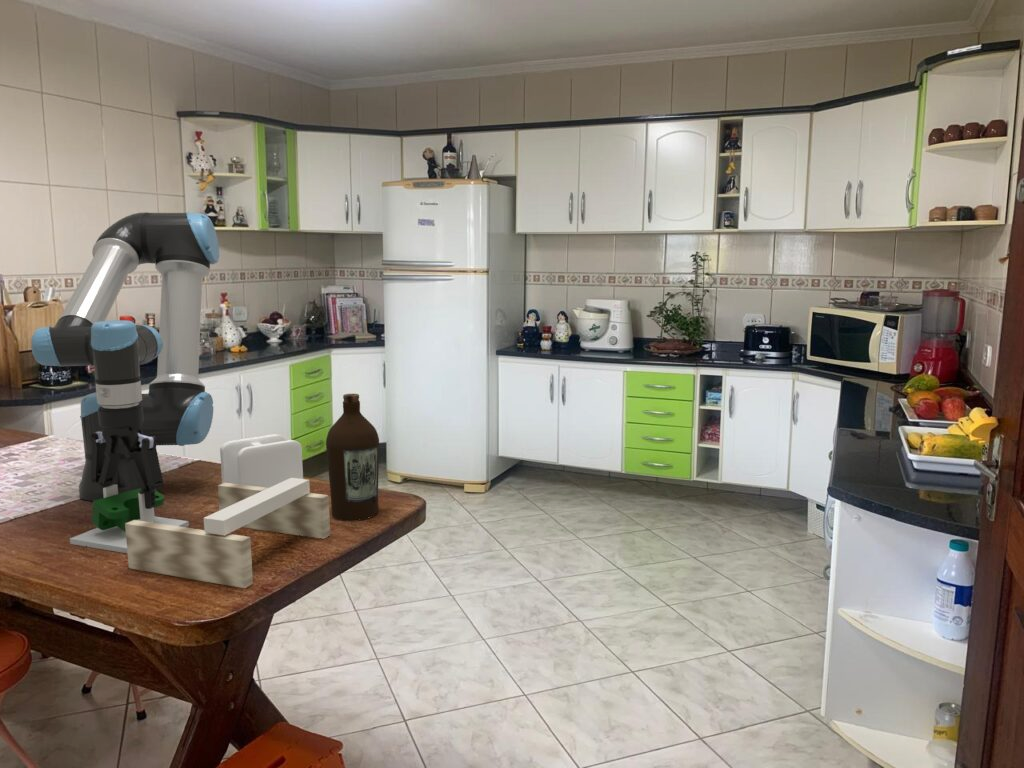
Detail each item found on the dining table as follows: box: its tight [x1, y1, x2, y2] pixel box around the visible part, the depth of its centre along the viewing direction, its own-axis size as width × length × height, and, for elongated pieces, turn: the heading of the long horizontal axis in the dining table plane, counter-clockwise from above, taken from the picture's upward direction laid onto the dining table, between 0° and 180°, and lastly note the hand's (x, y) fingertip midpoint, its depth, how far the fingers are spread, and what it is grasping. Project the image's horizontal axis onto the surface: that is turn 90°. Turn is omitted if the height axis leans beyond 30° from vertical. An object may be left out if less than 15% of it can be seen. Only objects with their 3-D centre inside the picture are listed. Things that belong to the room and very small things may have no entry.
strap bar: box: [203, 478, 311, 536], centre depth 138 cm, size 4×24×2 cm, turn 161°
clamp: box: [91, 488, 165, 531], centre depth 149 cm, size 12×6×9 cm, turn 141°
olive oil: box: [325, 393, 380, 521], centre depth 159 cm, size 11×11×25 cm
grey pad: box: [69, 516, 190, 554], centre depth 149 cm, size 14×15×1 cm
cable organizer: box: [219, 433, 304, 488], centre depth 176 cm, size 15×11×12 cm
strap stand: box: [125, 482, 331, 589], centre depth 141 cm, size 24×25×8 cm
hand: (130, 521), depth 149 cm, fingers closed on clamp, 8 cm apart
